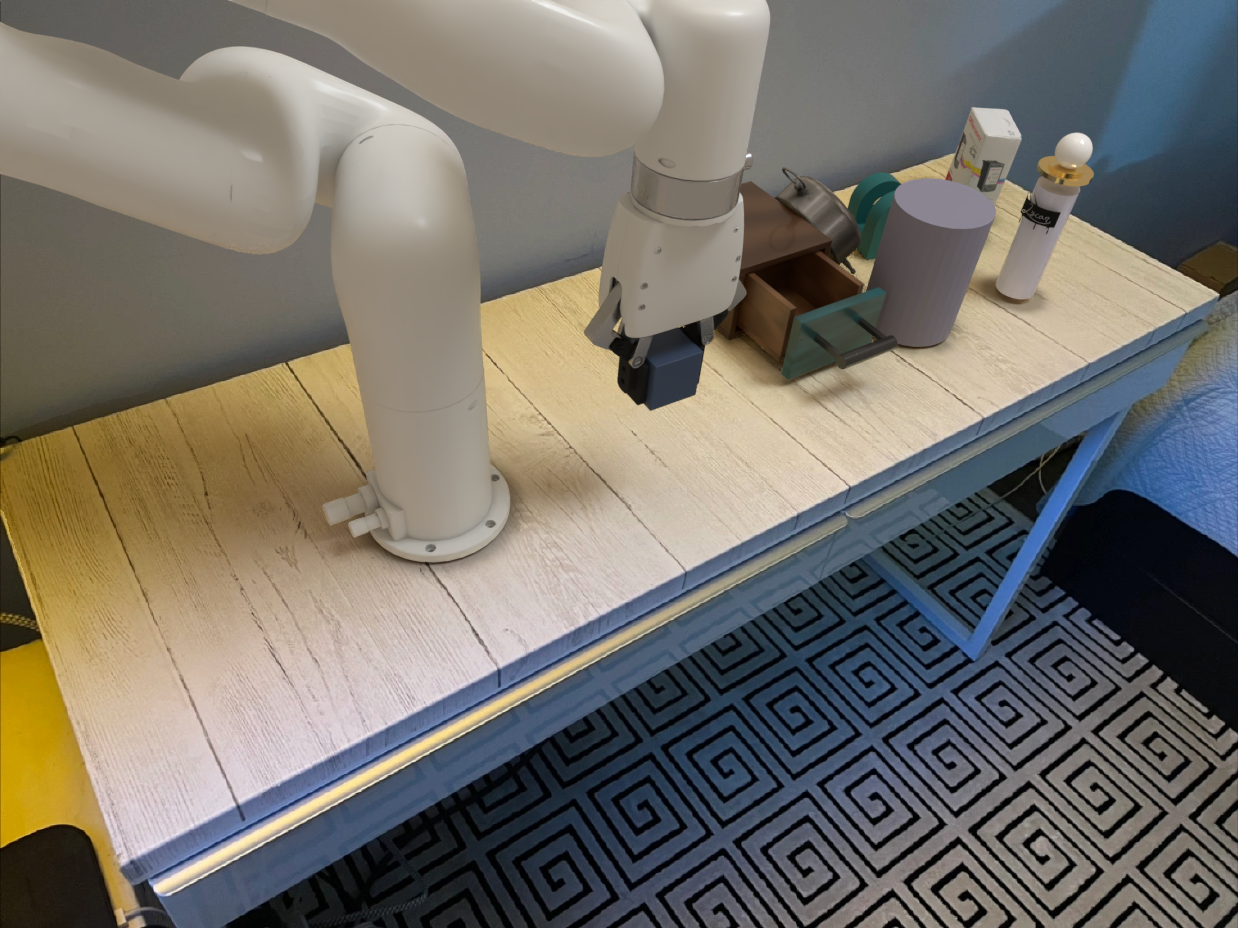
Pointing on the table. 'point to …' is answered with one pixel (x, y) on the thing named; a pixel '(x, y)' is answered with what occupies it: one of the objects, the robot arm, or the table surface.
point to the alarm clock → (823, 214)
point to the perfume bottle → (1045, 215)
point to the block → (671, 368)
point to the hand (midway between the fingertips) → (658, 383)
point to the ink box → (985, 151)
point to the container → (928, 258)
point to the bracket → (872, 209)
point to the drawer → (812, 315)
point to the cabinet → (770, 241)
